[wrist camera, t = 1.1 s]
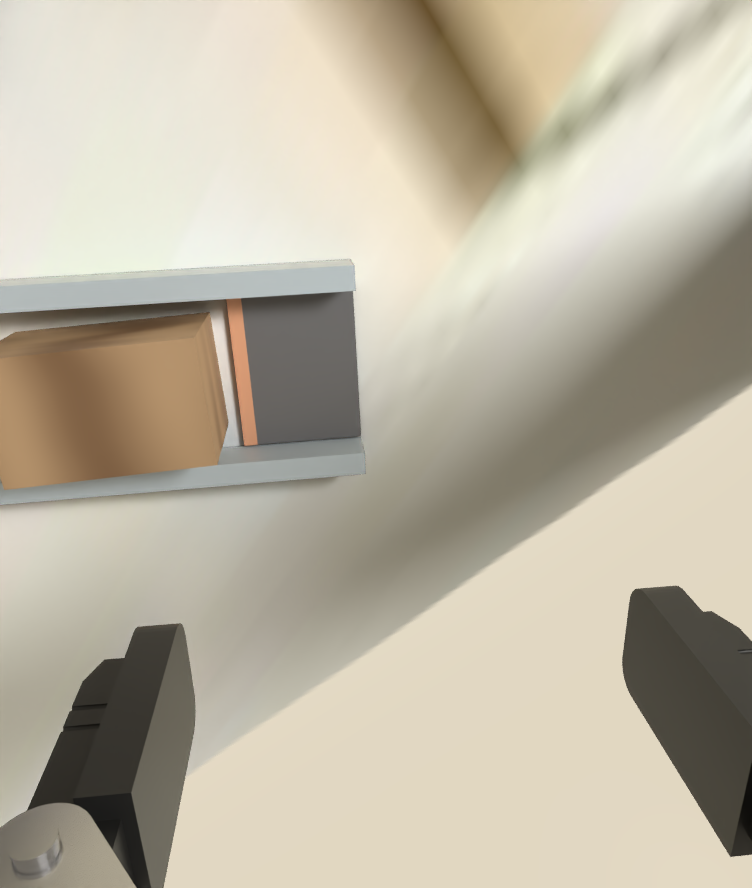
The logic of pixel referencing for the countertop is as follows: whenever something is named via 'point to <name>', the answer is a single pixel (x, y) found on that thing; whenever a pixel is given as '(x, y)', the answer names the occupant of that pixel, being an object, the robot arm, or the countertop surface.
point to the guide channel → (241, 368)
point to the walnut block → (109, 400)
